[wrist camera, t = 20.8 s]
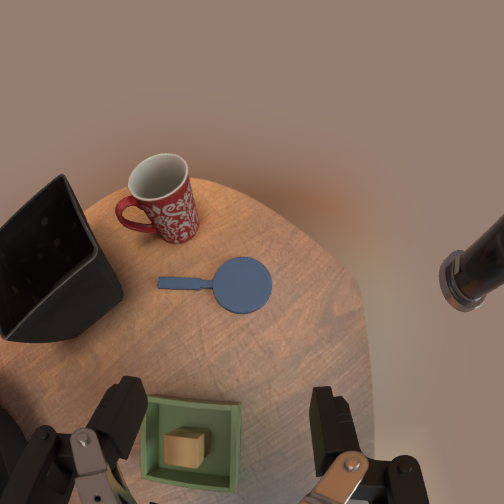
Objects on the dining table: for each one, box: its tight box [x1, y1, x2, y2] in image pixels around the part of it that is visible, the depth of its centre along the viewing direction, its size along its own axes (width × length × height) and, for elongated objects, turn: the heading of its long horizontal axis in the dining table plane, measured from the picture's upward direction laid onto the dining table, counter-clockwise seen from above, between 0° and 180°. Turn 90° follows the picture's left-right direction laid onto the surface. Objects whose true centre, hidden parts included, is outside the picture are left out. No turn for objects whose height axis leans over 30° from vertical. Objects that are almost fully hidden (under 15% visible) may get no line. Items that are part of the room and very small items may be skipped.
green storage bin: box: [140, 395, 241, 493], centre depth 31 cm, size 13×13×6 cm
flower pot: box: [0, 174, 123, 343], centre depth 36 cm, size 19×19×17 cm
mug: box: [115, 153, 199, 244], centre depth 42 cm, size 13×9×14 cm
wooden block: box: [164, 426, 210, 468], centre depth 29 cm, size 4×4×8 cm
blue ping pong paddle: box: [157, 257, 272, 314], centre depth 43 cm, size 18×9×1 cm, turn 89°
